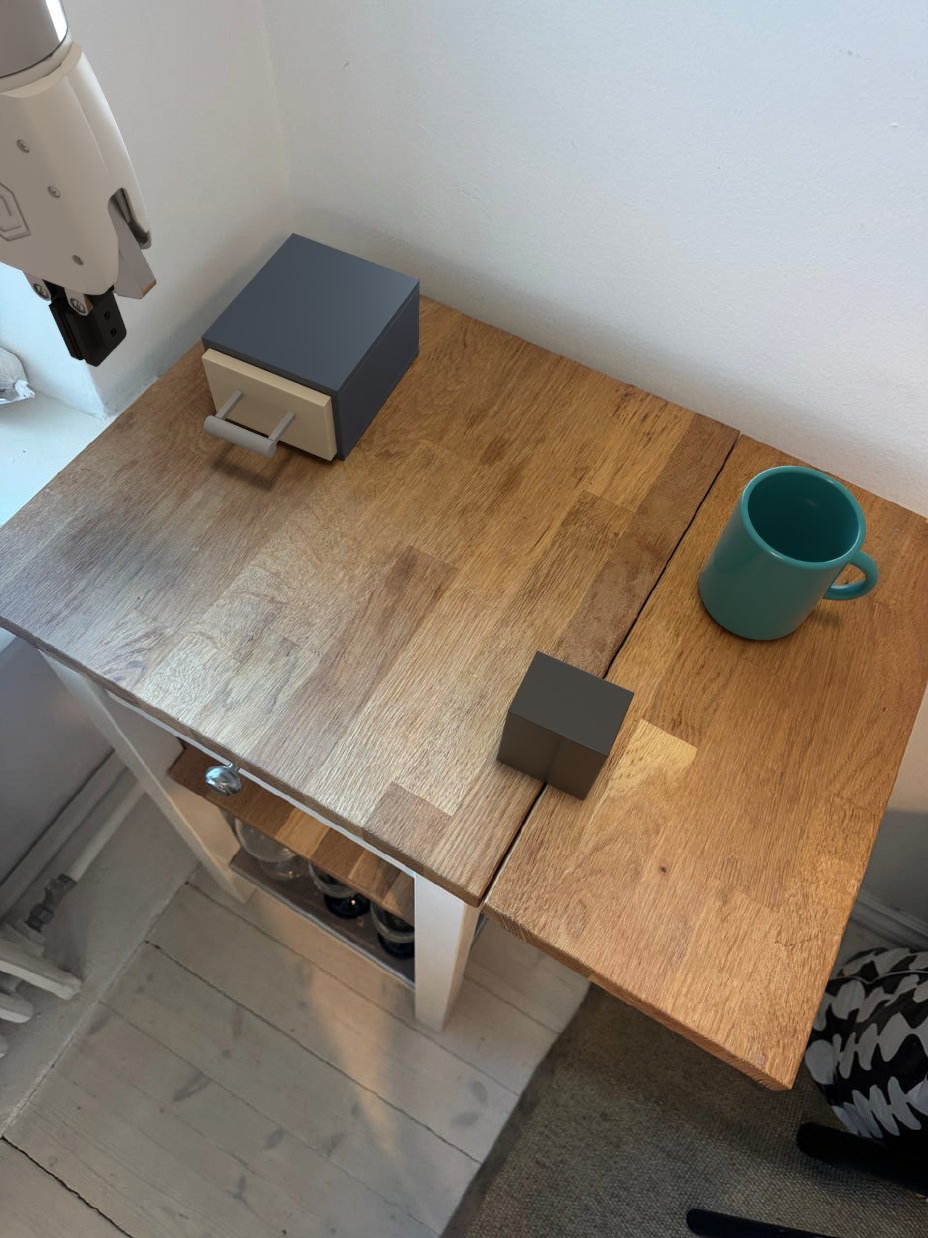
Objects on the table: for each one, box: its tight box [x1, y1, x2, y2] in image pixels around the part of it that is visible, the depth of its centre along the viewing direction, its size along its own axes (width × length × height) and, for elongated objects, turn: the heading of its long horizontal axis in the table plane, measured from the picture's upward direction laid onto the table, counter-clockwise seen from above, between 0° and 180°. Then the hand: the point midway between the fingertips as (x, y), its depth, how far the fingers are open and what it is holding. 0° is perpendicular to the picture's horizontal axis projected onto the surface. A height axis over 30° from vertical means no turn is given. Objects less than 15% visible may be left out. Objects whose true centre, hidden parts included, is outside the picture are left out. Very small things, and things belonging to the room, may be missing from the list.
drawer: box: [201, 348, 337, 462], centre depth 77 cm, size 18×11×7 cm, turn 155°
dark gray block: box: [496, 650, 635, 801], centre depth 62 cm, size 7×5×9 cm
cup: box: [698, 465, 880, 641], centre depth 68 cm, size 9×12×11 cm
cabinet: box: [200, 232, 421, 461], centre depth 79 cm, size 15×13×9 cm
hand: (100, 346), depth 52 cm, fingers closed
